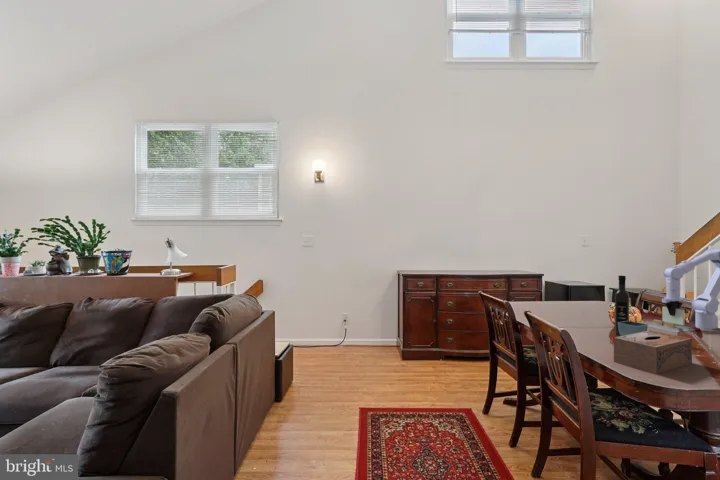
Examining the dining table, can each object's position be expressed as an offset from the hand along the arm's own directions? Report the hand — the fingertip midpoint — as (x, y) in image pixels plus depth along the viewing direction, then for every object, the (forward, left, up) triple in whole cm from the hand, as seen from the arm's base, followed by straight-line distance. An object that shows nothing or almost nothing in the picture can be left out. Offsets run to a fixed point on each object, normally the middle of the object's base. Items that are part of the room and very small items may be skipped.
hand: (673, 315), depth 197 cm
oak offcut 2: (+7, +3, -6) cm, 10 cm away
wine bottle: (+38, 0, -8) cm, 38 cm away
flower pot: (+46, +11, -8) cm, 48 cm away
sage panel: (0, 0, -4) cm, 4 cm away
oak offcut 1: (+7, -3, -6) cm, 10 cm away
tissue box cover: (+67, +34, -8) cm, 75 cm away
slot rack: (+4, 0, -7) cm, 8 cm away
